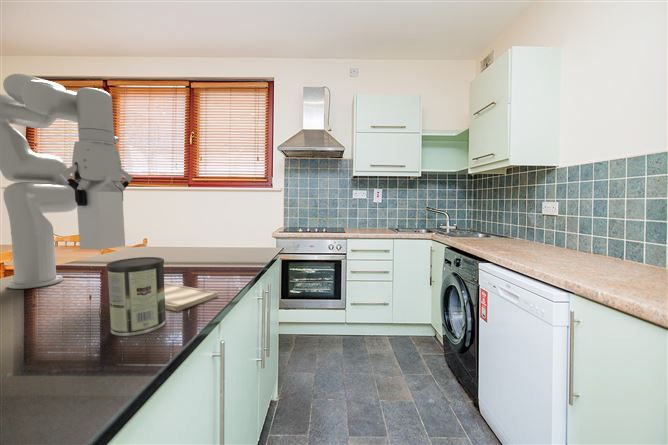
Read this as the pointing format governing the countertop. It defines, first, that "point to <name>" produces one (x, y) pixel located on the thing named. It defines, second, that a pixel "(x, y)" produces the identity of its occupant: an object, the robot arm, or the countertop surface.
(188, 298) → the beech board
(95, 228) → the milk carton
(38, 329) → the countertop surface
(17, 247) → the robot arm
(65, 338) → the countertop surface
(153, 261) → the coffee can
